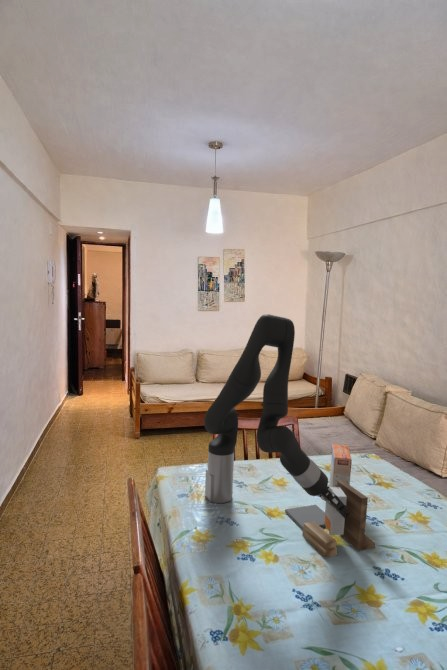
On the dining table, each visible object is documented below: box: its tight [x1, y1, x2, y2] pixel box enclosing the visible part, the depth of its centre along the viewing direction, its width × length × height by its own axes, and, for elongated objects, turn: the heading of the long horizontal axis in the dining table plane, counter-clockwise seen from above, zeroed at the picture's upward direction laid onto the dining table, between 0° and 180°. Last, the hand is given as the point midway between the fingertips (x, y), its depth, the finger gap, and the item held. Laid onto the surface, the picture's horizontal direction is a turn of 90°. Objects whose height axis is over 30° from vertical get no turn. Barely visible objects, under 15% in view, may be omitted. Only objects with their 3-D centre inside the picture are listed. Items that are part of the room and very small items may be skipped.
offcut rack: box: [301, 480, 376, 559], centre depth 128 cm, size 18×12×16 cm
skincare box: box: [324, 487, 347, 536], centre depth 128 cm, size 6×4×12 cm
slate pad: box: [284, 504, 326, 531], centre depth 142 cm, size 12×12×1 cm
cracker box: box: [328, 443, 353, 487], centre depth 148 cm, size 14×6×21 cm, turn 168°
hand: (339, 509), depth 128 cm, fingers closed on skincare box, 6 cm apart
